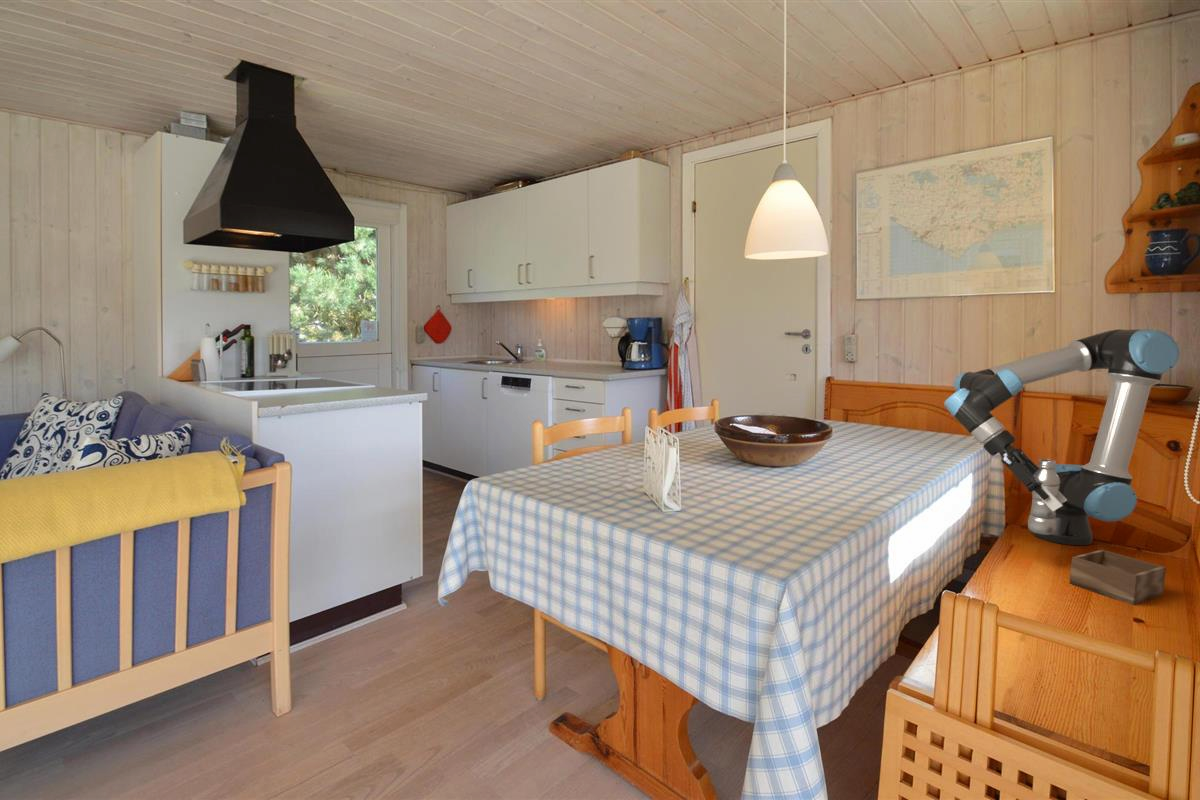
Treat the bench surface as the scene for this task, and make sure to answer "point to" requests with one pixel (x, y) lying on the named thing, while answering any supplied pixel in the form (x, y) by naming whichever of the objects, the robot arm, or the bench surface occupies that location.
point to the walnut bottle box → (1117, 576)
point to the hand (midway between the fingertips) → (1060, 505)
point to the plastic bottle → (1041, 514)
